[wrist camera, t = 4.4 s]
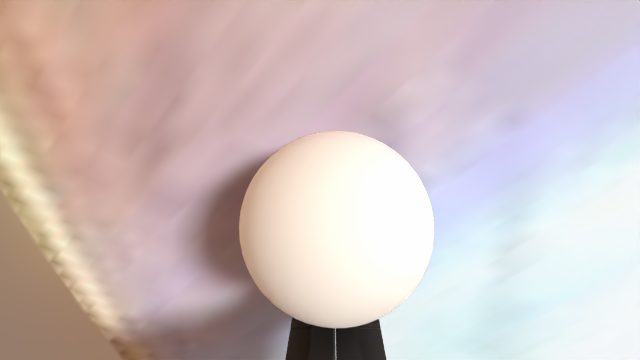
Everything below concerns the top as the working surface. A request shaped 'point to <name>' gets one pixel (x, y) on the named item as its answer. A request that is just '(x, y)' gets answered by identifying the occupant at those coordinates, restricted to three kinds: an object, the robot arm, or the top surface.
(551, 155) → the top surface
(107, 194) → the top surface
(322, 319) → the ball
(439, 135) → the top surface
